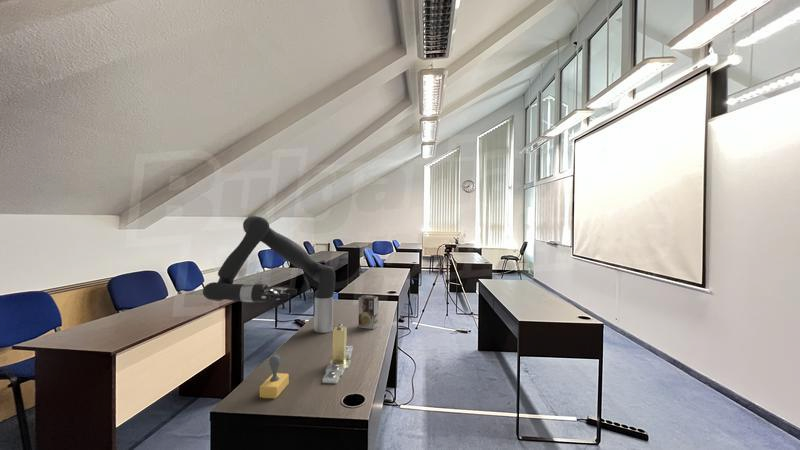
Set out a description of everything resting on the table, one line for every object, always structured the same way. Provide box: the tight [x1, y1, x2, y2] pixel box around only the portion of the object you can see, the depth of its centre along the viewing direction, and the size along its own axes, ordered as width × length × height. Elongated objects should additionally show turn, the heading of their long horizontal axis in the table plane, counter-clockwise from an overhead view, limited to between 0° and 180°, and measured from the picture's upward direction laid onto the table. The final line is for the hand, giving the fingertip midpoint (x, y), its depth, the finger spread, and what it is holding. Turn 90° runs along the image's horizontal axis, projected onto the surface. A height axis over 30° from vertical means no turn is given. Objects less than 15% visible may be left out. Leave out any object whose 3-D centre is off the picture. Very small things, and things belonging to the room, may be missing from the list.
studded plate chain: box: [322, 344, 354, 384], centre depth 137 cm, size 32×8×3 cm, turn 178°
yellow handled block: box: [259, 354, 290, 400], centre depth 116 cm, size 10×6×12 cm, turn 175°
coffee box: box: [358, 294, 379, 330], centre depth 185 cm, size 9×6×16 cm
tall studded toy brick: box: [331, 323, 348, 364], centre depth 137 cm, size 4×4×15 cm
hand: (292, 294), depth 144 cm, fingers open, 8 cm apart
